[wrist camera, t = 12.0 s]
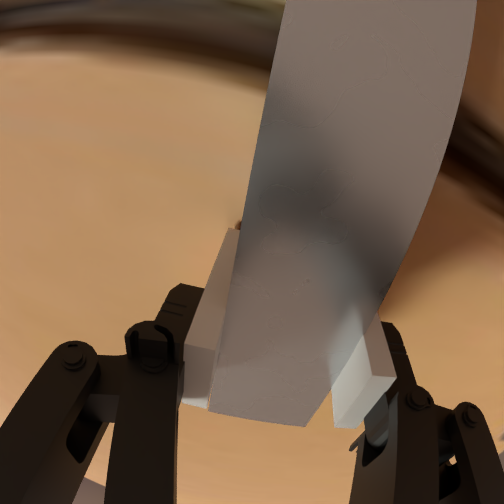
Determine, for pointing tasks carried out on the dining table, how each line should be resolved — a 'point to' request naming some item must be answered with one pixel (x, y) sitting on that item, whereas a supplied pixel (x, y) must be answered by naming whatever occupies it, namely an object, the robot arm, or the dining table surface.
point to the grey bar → (335, 191)
